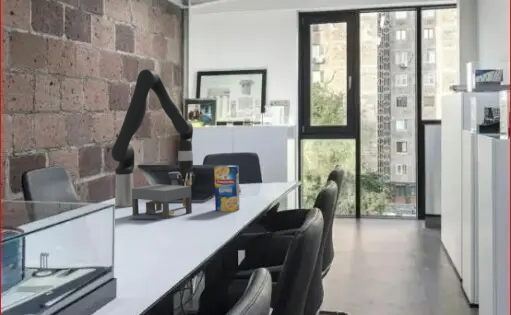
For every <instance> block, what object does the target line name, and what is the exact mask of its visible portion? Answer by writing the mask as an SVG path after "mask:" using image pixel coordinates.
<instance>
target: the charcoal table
mask: <svg viewBox="0 0 511 315" xmlns="http://www.w3.org/2000/svg"><path fill="white" fill-rule="evenodd" d="M183 198H186V207H185V213H186V214H192V213H193V211H192V210H193V208H192V207H193V205H192V204H193V203H192V185H191V186H181V185H176V184H175V185H174V184H160V183H157V184H151V185H150V184H149V185H144V186H143V185H142V186H138V187H134V188H132V206H131V207H132V208H131V209H132V216H139V213H140V212H139V211H140V210H139V200H143V201H162V202H159V203H155V211H162V212H163V215H162V219H165V220H166V219H167V220H168V219H170V215H169V211H170V204H169V203H170V202H172V201H175V200H180V199H181V200H183Z"/></svg>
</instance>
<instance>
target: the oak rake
mask: <svg viewBox="0 0 511 315" xmlns="http://www.w3.org/2000/svg"><path fill="white" fill-rule="evenodd" d="M183 180H185V179H183ZM183 183H184V181H183ZM186 186H191V187H192V185H191V184H190V179H187V181H186ZM159 202H162V201H153V200H148V201H147V202H145V214H147V215H156V203H159ZM162 203H163V202H162ZM182 207H183V208H184V207H185V208H186V198H182Z"/></svg>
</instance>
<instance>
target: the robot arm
mask: <svg viewBox="0 0 511 315" xmlns="http://www.w3.org/2000/svg"><path fill="white" fill-rule="evenodd" d="M135 83H136V84H135V87H134V91H133V94H132V97H131V98H130V99H131V100H130V102H129V105H128V107H127V111H126V113H125V116H124V119H123V123H122V125H121V128H120V130H119V133H118V136H117V138H116V140H115V143H114V144H113V146H112V149H111V157H112V159H113V160H114V161H115V162H118V163H119V164H118V166H117V167H116V168H115V188H114V204H115V205H116V207H119V208H120V207H121V208H128V207H132V188H135V187H134V168H135V149H134V147H133V145H131V144H130V142H131V140H132V138H133V136H134V135H135V134H136V133H137V131H138V130H139V129H140V127H141V126H142V124H143V121H144V119H145V116H146V113H147V98H148V95H149V92H150V90H152V91H153V92H154V94H155V95H156V97H157V99H158V101H159V103H160V106H161V108H162V109H163V111H164V113H165V114H166V116H167V117H168V118H169V120H170V121H171V123H172V125H173V127H174V128H175V130H176V132H177V133H178V134H179V140H178V148H177V149H178V151H177V152H178V153H177V155H178V157H177V161H178V163H177V164H178V165H177V167H178V169H179V173H178V174H176V175H175V177H176V180H177V183H178V186H186V181H187V179H190V184H191V186H192V185H193V184H194V183H195V179H196V175H197V172H194V171H193V168H194V155H193V133H194V129H193V128H194V127H193V126H194V125H193V123H192V122H190V121H189V120H186V119H185V118H184V116H183V112H182V111H181V109H180V107H179V106H178V105H177V104H176V102H175V100H174V99H173V98H172V96H171V95H170V93H169V91H168V90H167V88H166V86H165V85H164V82H163V80H162V78H161V77H160V74H159V72H157V71H156V70H154V69H151V68H150V69H149V68H145V69H142V70H141V71H140V72H139V73H138V75H137V78H136V82H135ZM183 179H185V180H183ZM183 181H184V183H183Z"/></svg>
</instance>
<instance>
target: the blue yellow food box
mask: <svg viewBox="0 0 511 315" xmlns="http://www.w3.org/2000/svg"><path fill="white" fill-rule="evenodd" d="M239 166H240V165H238V164H237V165H233V164H232V165H216V166H214V168H213V169H214V197H215V198H214V202H215V203H214V204H215V205H214V206H215V212H238V211H239V210H240V208H241V207H240V176H239V174H240V171H239V169H240V167H239Z"/></svg>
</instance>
